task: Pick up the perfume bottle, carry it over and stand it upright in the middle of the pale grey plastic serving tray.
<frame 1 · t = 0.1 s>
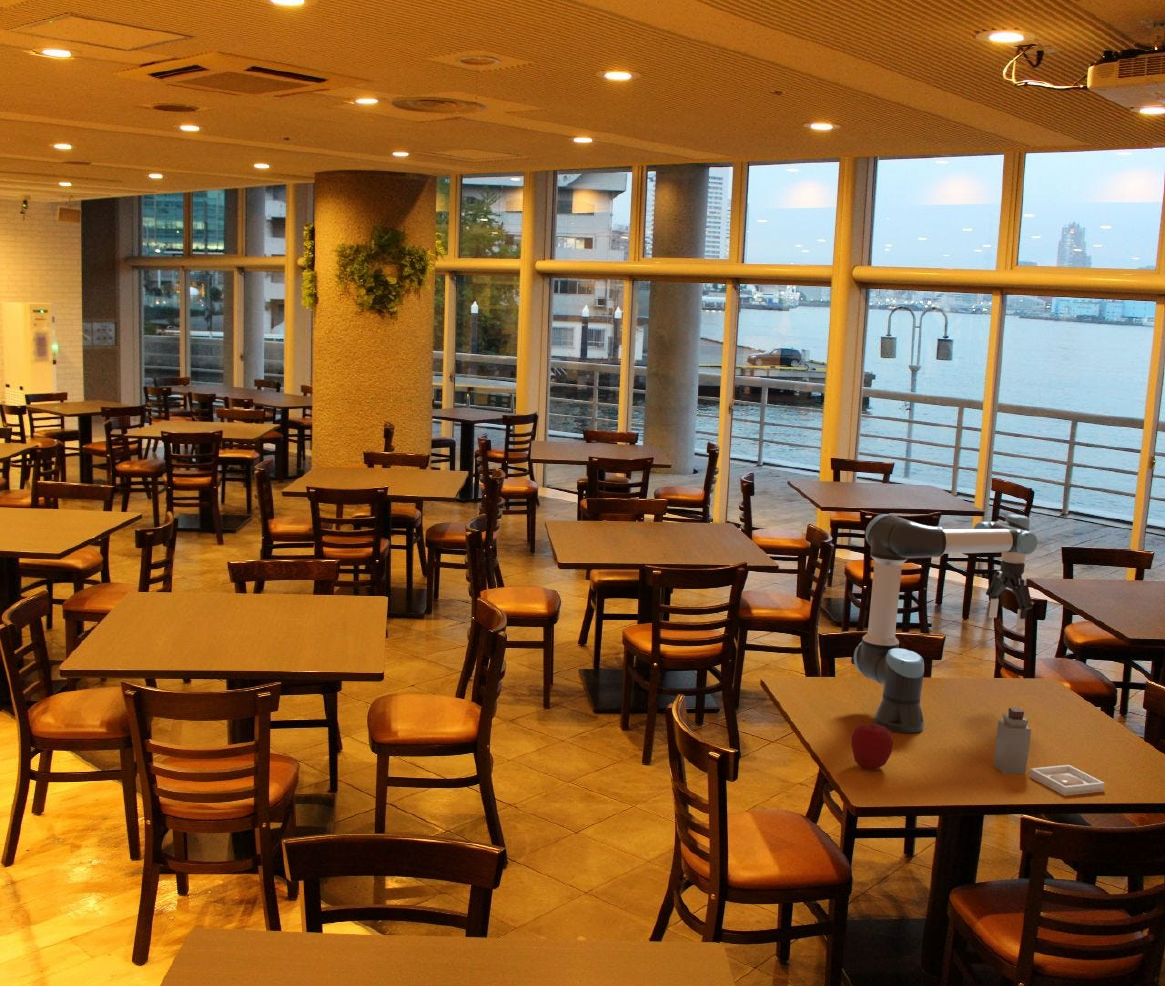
hand: (1006, 622, 417), 28 cm above the table, fingers open, 13 cm apart
tray: (1066, 783, 349), on the table
apple: (869, 768, 352), on the table
perfume bottle: (1009, 770, 358), on the table
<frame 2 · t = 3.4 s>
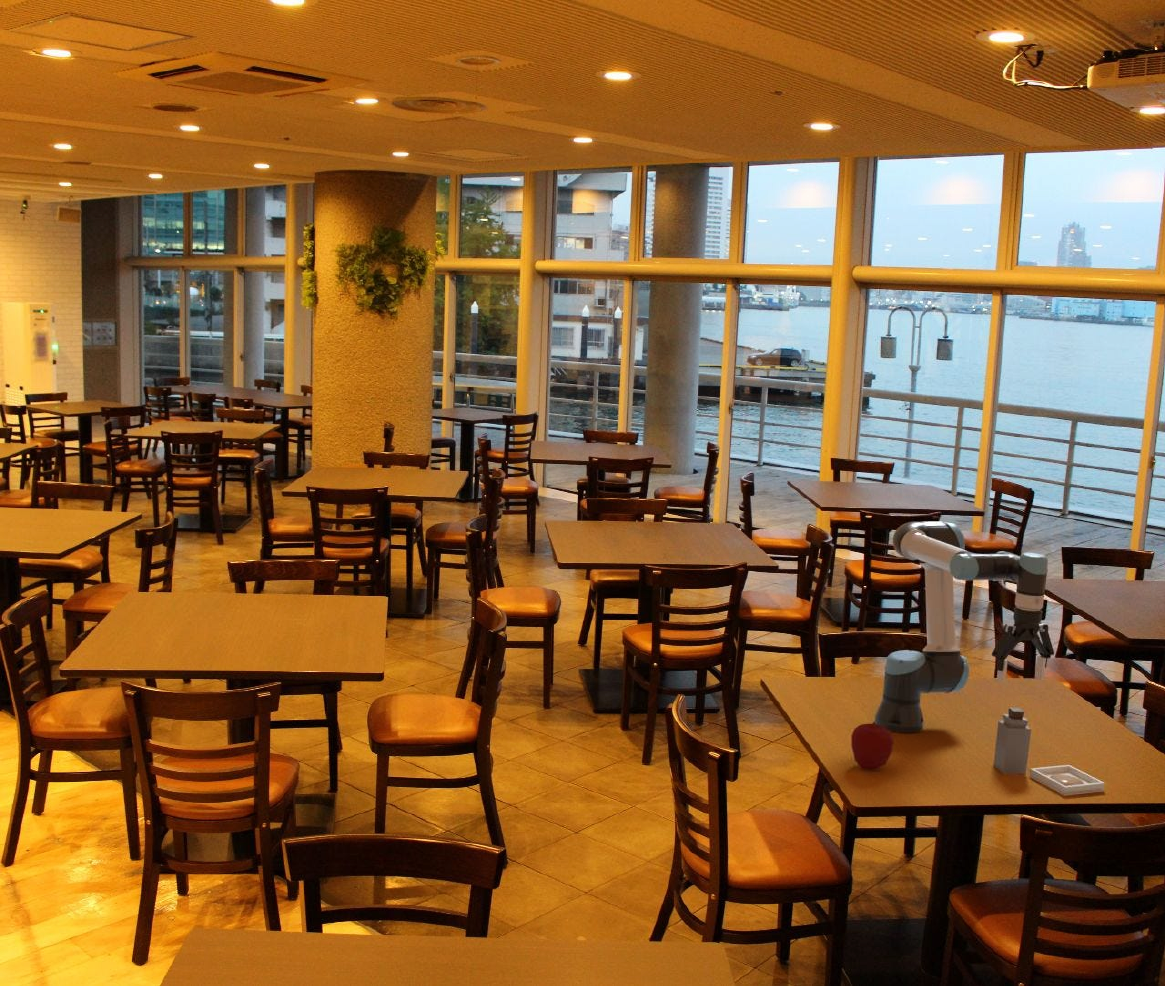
hand: (1020, 680, 354), 27 cm above the table, fingers open, 13 cm apart
nothing on the table moved.
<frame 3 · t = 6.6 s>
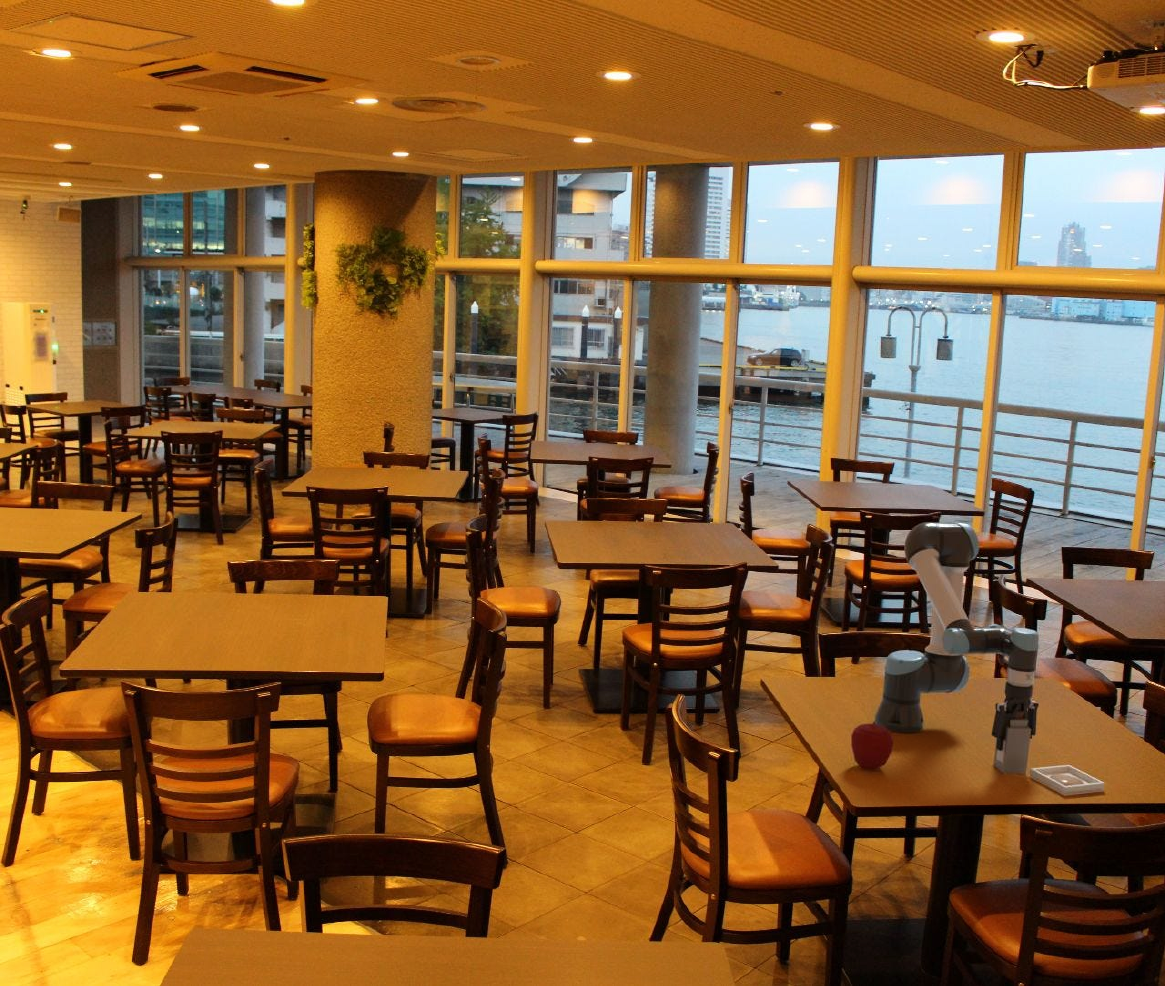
hand: (1010, 759, 357), 3 cm above the table, fingers closed on perfume bottle, 6 cm apart
perfume bottle: (1009, 770, 358), on the table, touching gripper
everything else where it was.
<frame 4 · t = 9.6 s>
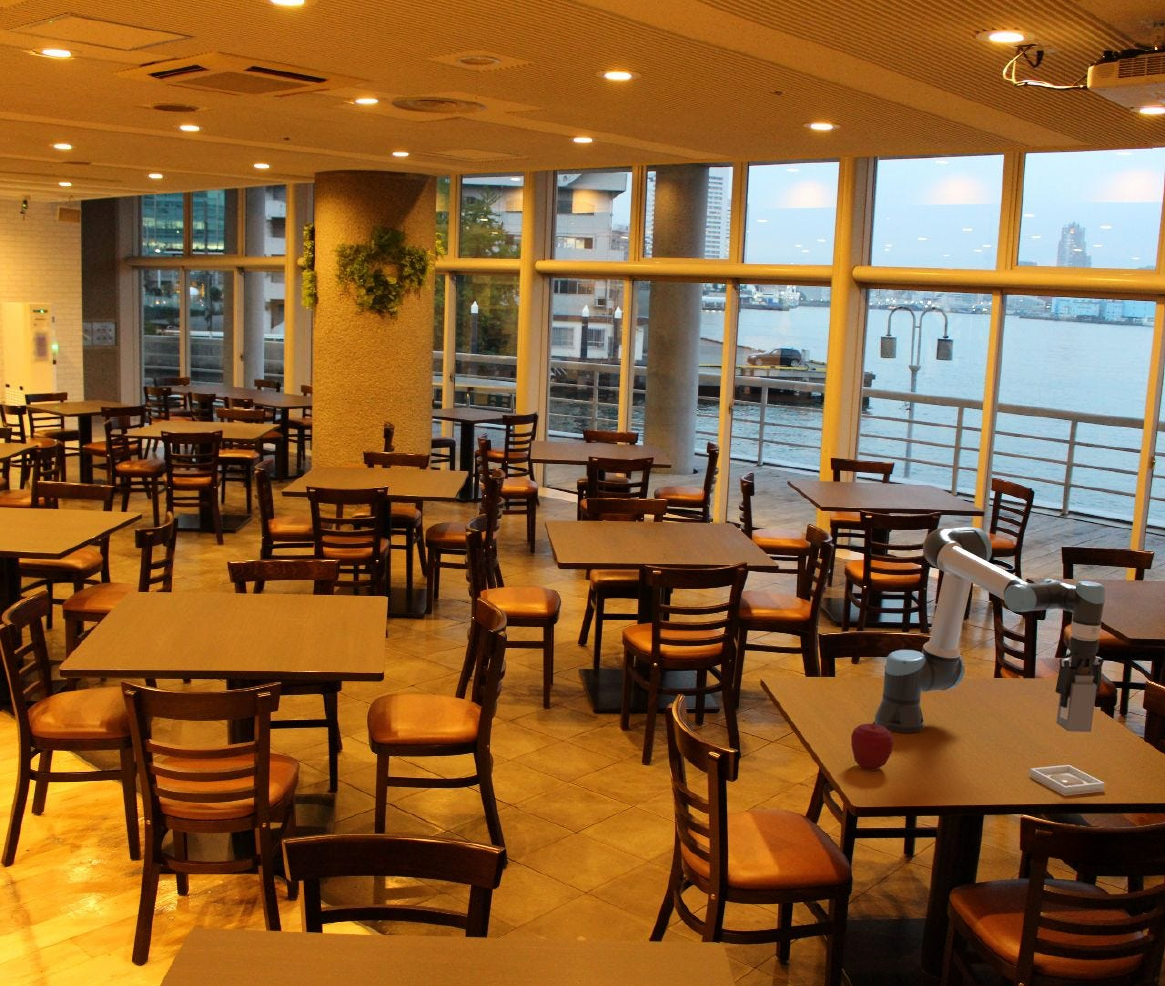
hand: (1074, 717, 346), 20 cm above the table, fingers closed on perfume bottle, 6 cm apart
perfume bottle: (1073, 728, 346), point 16 cm above the table, touching gripper
everything else where it was.
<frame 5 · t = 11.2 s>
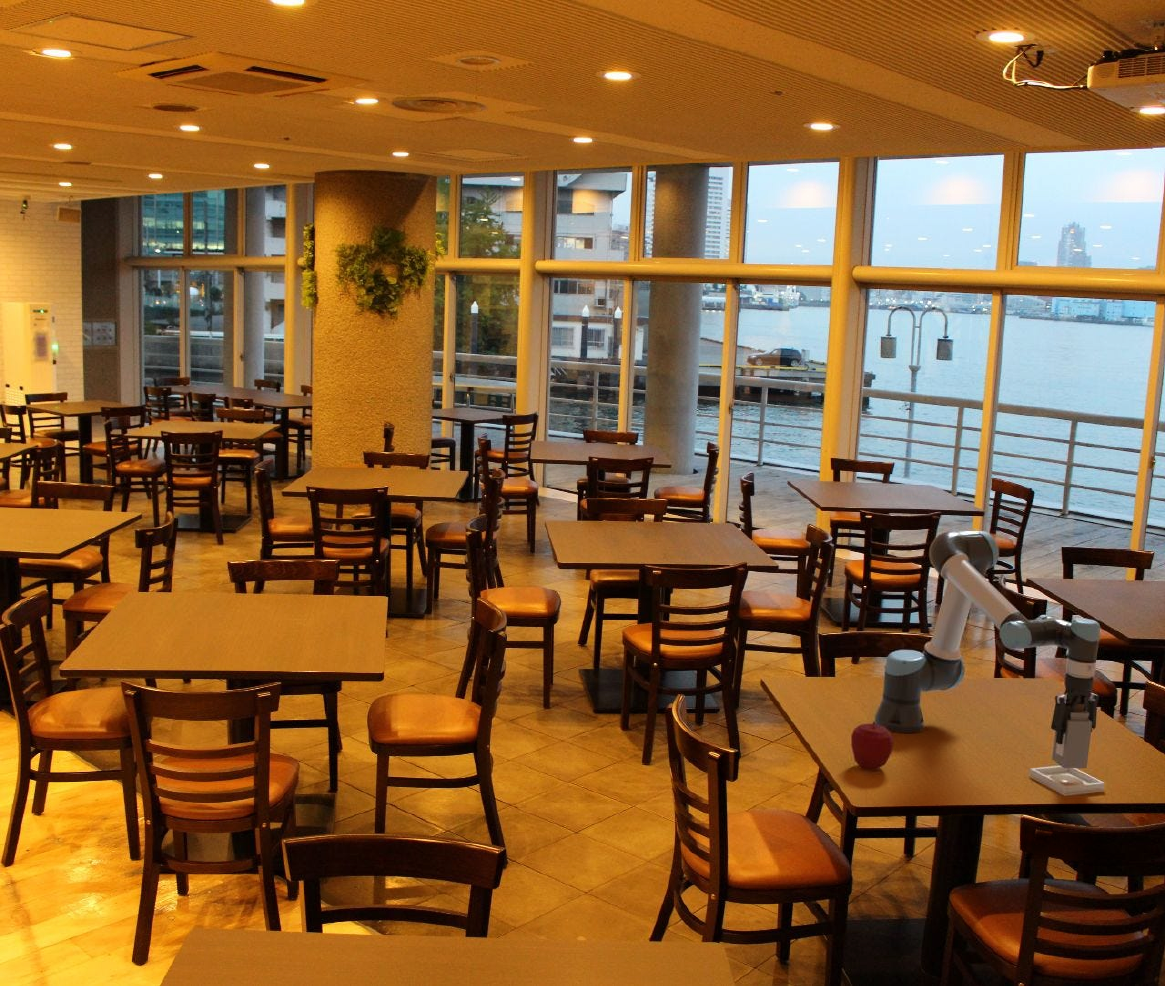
hand: (1070, 753, 348), 9 cm above the table, fingers closed on perfume bottle, 6 cm apart
perfume bottle: (1069, 764, 348), point 6 cm above the table, touching gripper
everything else where it was.
when the fingers open (5 cm above the table, at t = 12.7 s): perfume bottle drops 1 cm, resting on tray.
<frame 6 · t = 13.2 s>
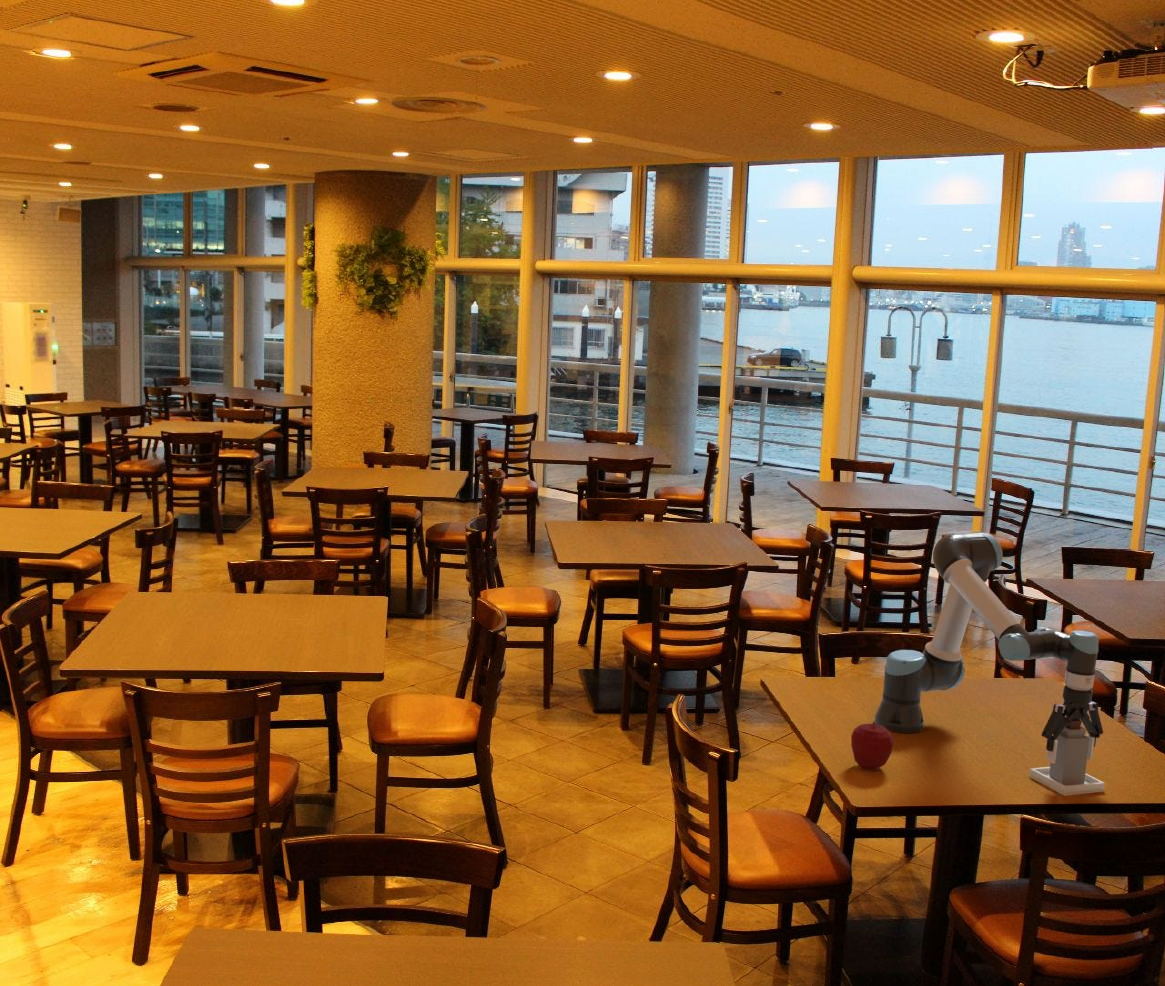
hand: (1069, 760, 348), 7 cm above the table, fingers open, 12 cm apart
perfume bottle: (1066, 780, 349), point 1 cm above the table, touching tray
everything else where it was.
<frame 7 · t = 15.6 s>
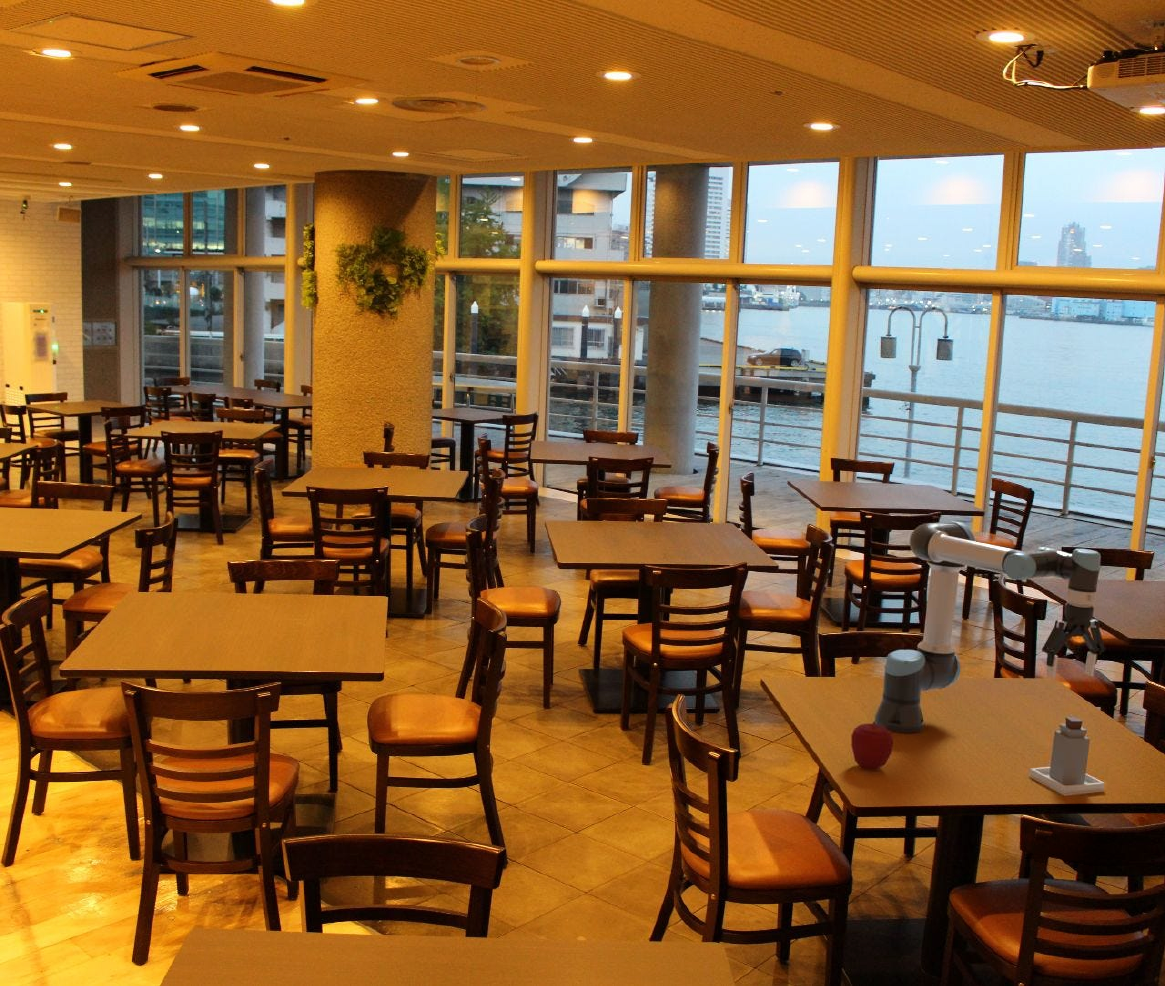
hand: (1069, 676, 353), 29 cm above the table, fingers open, 13 cm apart
nothing on the table moved.
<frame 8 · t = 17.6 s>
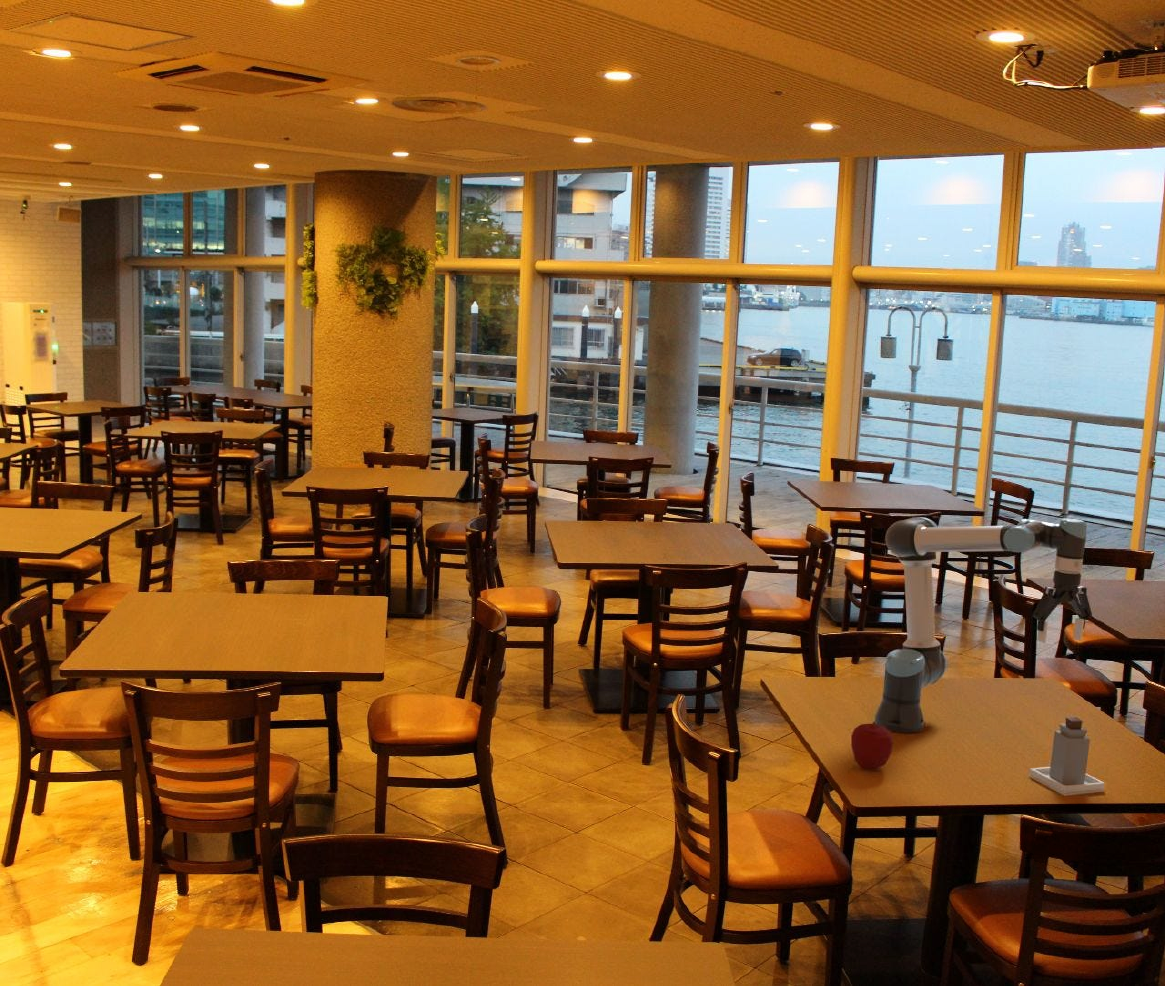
hand: (1059, 640, 370), 35 cm above the table, fingers open, 13 cm apart
nothing on the table moved.
at the end: perfume bottle inside the target area on the tray (0.0 cm from its centre), point 0.8 cm above the tray's base; perfume bottle tilted 0°; the gripper is holding nothing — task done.
